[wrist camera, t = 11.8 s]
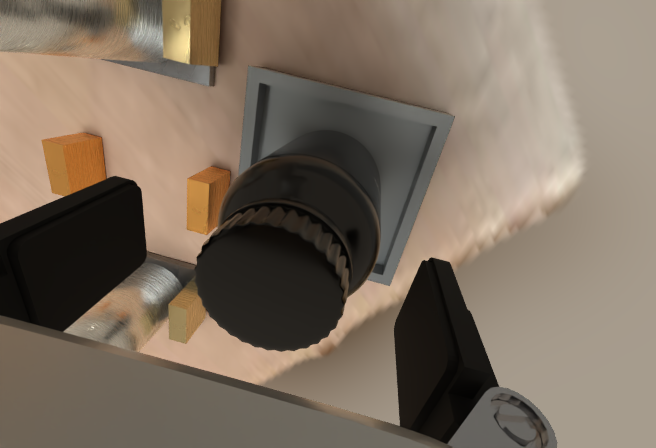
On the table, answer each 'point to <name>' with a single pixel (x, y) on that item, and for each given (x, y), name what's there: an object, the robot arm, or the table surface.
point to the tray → (360, 123)
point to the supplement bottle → (293, 242)
